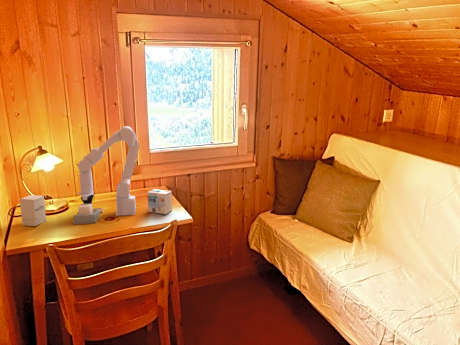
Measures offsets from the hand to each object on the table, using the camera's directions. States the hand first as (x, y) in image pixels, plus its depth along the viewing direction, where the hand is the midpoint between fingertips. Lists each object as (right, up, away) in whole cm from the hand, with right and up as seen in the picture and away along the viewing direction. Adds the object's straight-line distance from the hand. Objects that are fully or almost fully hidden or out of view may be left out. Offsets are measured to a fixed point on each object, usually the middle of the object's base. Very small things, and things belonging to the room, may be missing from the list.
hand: (88, 210), depth 182 cm
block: (+1, -3, -5) cm, 6 cm away
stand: (+2, -1, +7) cm, 7 cm away
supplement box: (-21, -5, -10) cm, 24 cm away
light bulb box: (+34, -2, +8) cm, 35 cm away
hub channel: (+1, -4, -4) cm, 6 cm away
